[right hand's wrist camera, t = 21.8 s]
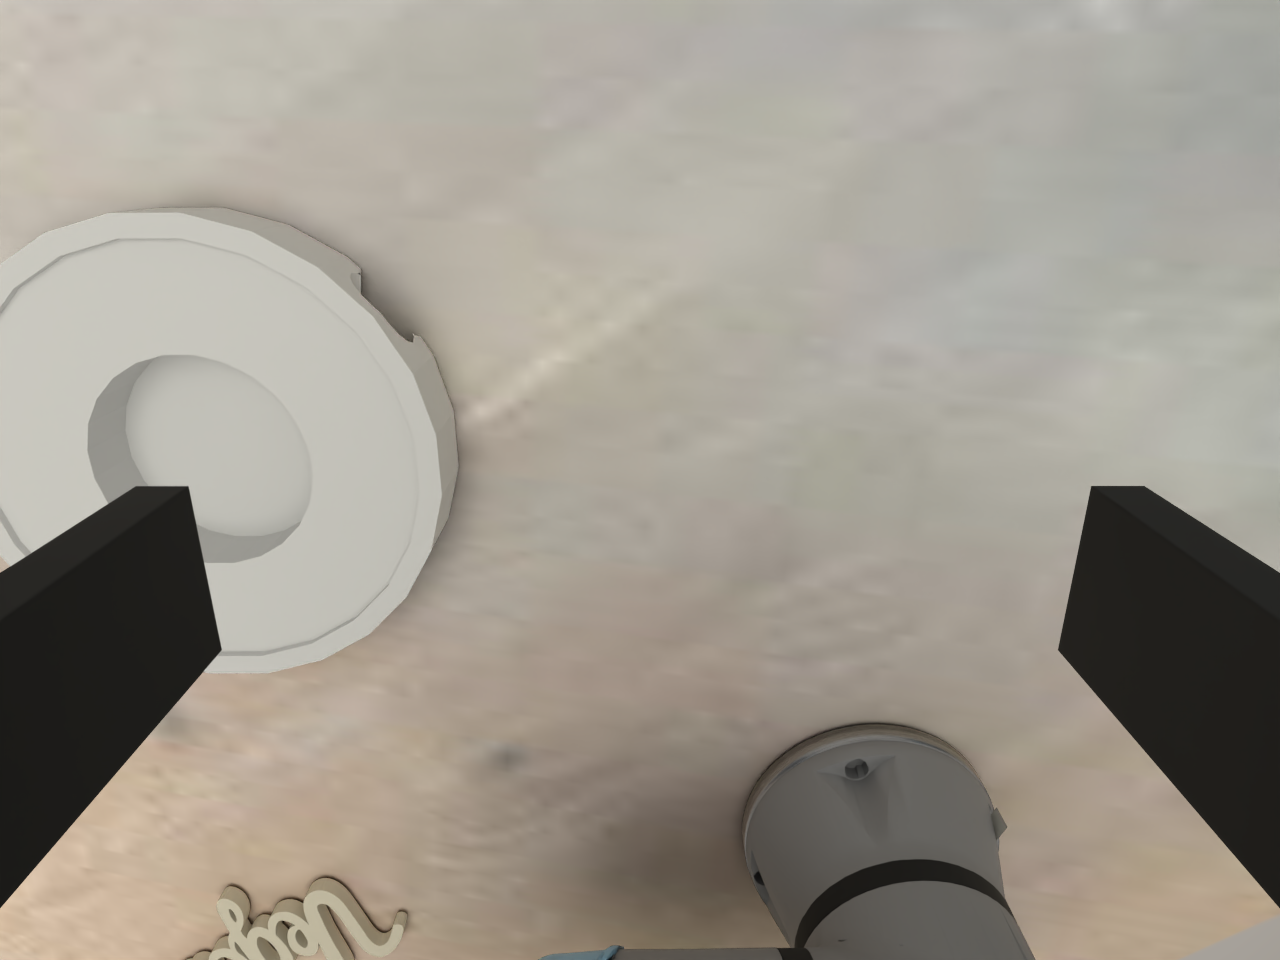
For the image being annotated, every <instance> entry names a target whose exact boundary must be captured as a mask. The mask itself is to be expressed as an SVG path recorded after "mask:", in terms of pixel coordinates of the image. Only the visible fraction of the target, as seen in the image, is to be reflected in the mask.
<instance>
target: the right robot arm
mask: <svg viewBox="0 0 1280 960" xmlns="http://www.w3.org/2000/svg"><path fill="white" fill-rule="evenodd" d="M221 650H222V648H221V643H220V638H219V633H218V628H217V623H216V619H215V614H214V609H213V604H212V599H211V594H210V589H209V584H208V579H207V574H206V569H205V564H204V560H203V555H202V550H201V545H200V540H199V535H198V530H197V525H196V520H195V515H194V510H193V506H192V501H191V496H190V491H189V486H135V487H134V488H132V489H131V490H129V491H127V492H126V493H124V494H123V495H121V496H120V497H118V498H117V499H115V500H113V501H112V502H110V503H109V504H107V505H106V506H104V507H102V508H101V509H99V510H98V511H96V512H95V513H93V514H92V515H90V516H88V517H87V518H85V519H84V520H82V521H81V522H79V523H77V524H76V525H74V526H73V527H71V528H70V529H68V530H67V531H65V532H63V533H62V534H60V535H59V536H57V537H56V538H54V539H53V540H51V541H49V542H48V543H46V544H45V545H43V546H42V547H40V548H38V549H37V550H35V551H34V552H32V553H31V554H29V555H28V556H26V557H24V558H23V559H21V560H20V561H18V562H17V563H15V564H13V565H12V566H10V567H9V568H7V569H6V570H4V571H3V572H1V573H0V908H1V907H2V905H3V904H4V903H5V902H6V901H7V900H8V898H9V897H10V896H11V895H12V894H13V893H14V891H15V890H16V889H17V888H18V887H19V886H20V884H21V883H22V882H23V881H24V880H25V879H26V877H27V876H28V875H29V874H30V873H31V872H32V871H33V869H34V868H35V867H36V866H37V865H38V864H39V862H40V861H41V860H42V859H43V858H44V857H45V855H46V854H47V853H48V852H49V851H50V850H51V848H52V847H53V846H54V845H55V844H56V843H57V841H58V840H59V839H60V838H61V837H62V836H63V834H64V833H65V832H66V831H67V830H68V829H69V827H70V826H71V825H72V824H73V823H74V822H75V820H76V819H77V818H78V817H79V816H80V815H81V813H82V812H83V811H84V810H85V809H86V808H87V806H88V805H89V804H90V803H91V802H92V801H93V799H94V798H95V797H96V796H97V795H98V794H99V793H100V791H101V790H102V789H103V788H104V787H105V786H106V784H107V783H108V782H109V781H110V780H111V779H112V777H113V776H114V775H115V774H116V773H117V772H118V770H119V769H120V768H121V767H122V766H123V765H124V763H125V762H126V761H127V760H128V759H129V758H130V756H131V755H132V754H133V753H134V752H135V751H136V749H137V748H138V747H139V746H140V745H141V744H142V742H143V741H144V740H145V739H146V738H147V737H148V735H149V734H150V733H151V732H152V731H153V730H154V728H155V727H156V726H157V725H158V724H159V723H160V721H161V720H162V719H163V718H164V717H165V716H166V715H167V713H168V712H169V711H170V710H171V709H172V708H173V706H174V705H175V704H176V703H177V702H178V701H179V699H180V698H181V697H182V696H183V695H184V694H185V692H186V691H187V690H188V689H189V688H190V687H191V685H192V684H193V683H194V682H195V681H196V680H197V678H198V677H199V676H200V675H201V674H202V673H203V671H204V670H205V669H206V668H207V667H208V666H209V664H210V663H211V662H212V661H213V660H214V659H215V657H216V656H217V655H218V654H219V653H220V652H221ZM1058 650H1059V652H1060V653H1061V654H1062V655H1063V656H1064V657H1065V659H1066V660H1067V661H1068V662H1069V663H1070V664H1071V666H1072V667H1073V668H1074V669H1075V670H1076V671H1077V673H1078V674H1079V675H1080V676H1081V677H1082V678H1083V680H1084V681H1085V682H1086V683H1087V684H1088V685H1089V687H1090V688H1091V689H1092V690H1093V691H1094V692H1095V694H1096V695H1097V696H1098V697H1099V698H1100V699H1101V701H1102V702H1103V703H1104V704H1105V705H1106V706H1107V708H1108V709H1109V710H1110V711H1111V712H1112V713H1113V715H1114V716H1115V717H1116V718H1117V719H1118V720H1119V721H1120V723H1121V724H1122V725H1123V726H1124V727H1125V728H1126V730H1127V731H1128V732H1129V733H1130V734H1131V735H1132V737H1133V738H1134V739H1135V740H1136V741H1137V742H1138V744H1139V745H1140V746H1141V747H1142V748H1143V749H1144V751H1145V752H1146V753H1147V754H1148V755H1149V756H1150V758H1151V759H1152V760H1153V761H1154V762H1155V763H1156V765H1157V766H1158V767H1159V768H1160V769H1161V770H1162V772H1163V773H1164V774H1165V775H1166V776H1167V777H1168V779H1169V780H1170V781H1171V782H1172V783H1173V784H1174V786H1175V787H1176V788H1177V789H1178V790H1179V791H1180V793H1181V794H1182V795H1183V796H1184V797H1185V798H1186V799H1187V801H1188V802H1189V803H1190V804H1191V805H1192V806H1193V808H1194V809H1195V810H1196V811H1197V812H1198V813H1199V815H1200V816H1201V817H1202V818H1203V819H1204V820H1205V822H1206V823H1207V824H1208V825H1209V826H1210V827H1211V829H1212V830H1213V831H1214V832H1215V833H1216V834H1217V836H1218V837H1219V838H1220V839H1221V840H1222V841H1223V843H1224V844H1225V845H1226V846H1227V847H1228V848H1229V850H1230V851H1231V852H1232V853H1233V854H1234V855H1235V857H1236V858H1237V859H1238V860H1239V861H1240V862H1241V864H1242V865H1243V866H1244V867H1245V868H1246V869H1247V871H1248V872H1249V873H1250V874H1251V875H1252V876H1253V878H1254V879H1255V880H1256V881H1257V882H1258V883H1259V884H1260V886H1261V887H1262V888H1263V889H1264V890H1265V891H1266V893H1267V894H1268V895H1269V896H1270V897H1271V898H1272V900H1273V901H1274V902H1275V903H1276V904H1277V905H1278V907H1279V908H1280V573H1279V572H1277V571H1276V570H1274V569H1273V568H1271V567H1270V566H1268V565H1267V564H1265V563H1263V562H1262V561H1260V560H1259V559H1257V558H1256V557H1254V556H1252V555H1251V554H1249V553H1248V552H1246V551H1245V550H1243V549H1242V548H1240V547H1238V546H1237V545H1235V544H1234V543H1232V542H1231V541H1229V540H1227V539H1226V538H1224V537H1223V536H1221V535H1220V534H1218V533H1217V532H1215V531H1213V530H1212V529H1210V528H1209V527H1207V526H1206V525H1204V524H1203V523H1201V522H1199V521H1198V520H1196V519H1195V518H1193V517H1192V516H1190V515H1188V514H1187V513H1185V512H1184V511H1182V510H1181V509H1179V508H1178V507H1176V506H1174V505H1173V504H1171V503H1170V502H1168V501H1167V500H1165V499H1163V498H1162V497H1160V496H1159V495H1157V494H1156V493H1154V492H1153V491H1151V490H1149V489H1148V488H1146V487H1145V486H1091V491H1090V496H1089V501H1088V506H1087V510H1086V515H1085V520H1084V525H1083V530H1082V535H1081V540H1080V545H1079V550H1078V555H1077V560H1076V564H1075V569H1074V574H1073V579H1072V584H1071V589H1070V594H1069V599H1068V604H1067V609H1066V614H1065V619H1064V623H1063V628H1062V633H1061V638H1060V643H1059V648H1058ZM1006 828H1007V826H1006V824H1005V822H1004V820H1003V818H1002V816H1001V815H1000V813H999V811H998V809H997V808H996V809H995V810H994V808H993V805H992V802H991V799H990V797H989V795H988V793H987V791H986V789H985V787H984V785H983V784H982V782H981V780H980V778H979V776H978V775H977V773H976V771H975V770H974V768H973V767H972V765H971V764H970V763H969V762H968V761H967V760H966V758H965V757H964V756H962V755H961V754H960V753H959V752H958V751H957V750H956V749H954V748H953V747H952V746H950V745H949V744H947V743H946V742H944V741H942V740H940V739H939V738H936V737H934V736H932V735H930V734H927V733H925V732H922V731H919V730H915V729H911V728H908V727H902V726H896V725H885V724H867V725H856V726H850V727H844V728H840V729H836V730H832V731H829V732H826V733H823V734H820V735H818V736H815V737H813V738H811V739H808V740H806V741H805V742H803V743H801V744H799V745H797V746H796V747H794V748H792V749H791V750H789V751H788V752H786V753H785V754H784V755H783V756H781V757H780V758H779V759H778V760H776V761H775V762H774V763H773V764H772V765H771V766H770V767H769V768H768V769H767V770H766V772H765V773H764V774H763V775H762V776H761V778H760V779H759V781H758V782H757V783H756V785H755V787H754V788H753V790H752V792H751V794H750V796H749V799H748V801H747V804H746V807H745V810H744V815H743V821H742V837H743V845H744V851H745V858H746V863H747V867H748V870H749V873H750V875H751V878H752V880H753V883H754V885H755V887H756V889H757V891H758V893H759V895H760V896H761V898H762V900H763V901H764V903H765V904H766V905H767V907H768V909H769V911H770V913H771V915H772V917H773V919H774V920H775V922H776V924H777V925H778V927H779V929H780V930H781V932H782V934H783V935H784V937H785V939H786V940H787V942H788V944H789V945H790V947H791V948H722V949H624V947H622V946H610V947H608V948H607V949H606V950H599V951H588V952H576V953H562V954H552V955H548V956H545V957H542V958H540V959H538V960H1035V958H1034V956H1033V954H1032V952H1031V950H1030V948H1029V946H1028V944H1027V942H1026V940H1025V938H1024V936H1023V934H1022V932H1021V930H1020V928H1019V926H1018V924H1017V922H1016V920H1015V918H1014V916H1013V914H1012V912H1011V910H1010V908H1009V906H1008V904H1007V902H1006V900H1005V896H1004V889H1003V882H1002V874H1001V867H1000V860H999V854H998V850H999V837H1000V835H1001V834H1002V833H1003V832H1004V830H1005V829H1006Z"/></svg>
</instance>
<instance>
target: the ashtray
mask: <svg viewBox="0 0 1280 960" xmlns="http://www.w3.org/2000/svg"><path fill="white" fill-rule="evenodd" d="M413 336H414V339H413V342H408V341H407V340H405V339H404V338H403V337H402V336H400V335H399V334H398V333H397V332H396V331H395V329H394V328H393V327H392V326H391V325H390V324H389V323H388V322H387V321H386V319H385V318H384V317H383V315H382V314H381V313H380V312H379V311H378V310H377V309H376V308H374V307H373V306H372V305H371V304H370V303H369V302H368V301H367V300H366V299H365V298H364V297H363V296H362V295H361V269H360V268H359V267H358V266H357V265H356V264H355V263H354V262H353V261H352V260H350V259H349V258H348V257H347V256H345V255H343V254H341V253H339V252H338V251H336V250H334V249H332V248H330V247H328V246H327V245H325V244H323V243H321V242H319V241H317V240H316V239H314V238H312V237H310V236H308V235H307V234H305V233H303V232H301V231H299V230H297V229H296V228H294V227H292V226H290V225H288V224H285V223H281V222H277V221H273V220H269V219H266V218H262V217H258V216H254V215H250V214H247V213H243V212H239V211H235V210H231V209H228V208H224V207H199V208H151V209H142V210H132V211H122V212H113V213H107V214H103V215H100V216H97V217H93V218H90V219H87V220H84V221H80V222H77V223H74V224H71V225H67V226H64V227H61V228H57V229H54V230H51V231H48V232H44V233H43V234H42V235H40V236H39V237H37V238H36V239H35V240H33V241H32V242H30V243H29V244H28V245H26V246H25V247H23V248H22V249H21V250H19V251H18V252H16V253H15V254H14V255H12V256H11V257H9V258H8V259H7V260H5V261H4V262H2V263H1V264H0V556H1V557H2V558H3V559H4V560H5V561H6V562H7V563H8V564H9V566H12V565H13V564H15V563H17V562H18V561H20V560H21V559H23V558H24V557H26V556H28V555H29V554H31V553H32V552H34V551H35V550H37V549H38V548H40V547H42V546H43V545H45V544H46V543H48V542H49V541H51V540H53V539H54V538H56V537H57V536H59V535H60V534H62V533H63V532H65V531H67V530H68V529H70V528H71V527H73V526H74V525H76V524H77V523H79V522H81V521H82V520H84V519H85V518H87V517H88V516H90V515H92V514H93V513H95V512H96V511H98V510H99V509H101V508H102V507H104V506H106V505H107V504H109V503H110V502H112V501H113V500H115V499H117V498H118V497H120V496H121V495H123V494H124V493H126V492H127V491H129V490H131V489H132V488H134V487H135V486H189V491H190V496H191V501H192V506H193V510H194V515H195V520H196V525H197V530H198V535H199V540H200V545H201V550H202V555H203V560H204V564H205V569H206V574H207V579H208V584H209V589H210V594H211V599H212V604H213V609H214V614H215V619H216V623H217V628H218V633H219V638H220V643H221V648H222V650H221V652H220V653H219V654H218V655H217V656H216V657H215V659H214V660H213V661H212V662H211V663H210V664H209V666H208V667H207V668H206V669H205V670H204V671H203V672H206V673H271V672H275V671H279V670H283V669H288V668H292V667H296V666H300V665H304V664H308V663H312V662H316V661H320V660H323V659H325V658H327V657H329V656H331V655H332V654H334V653H336V652H338V651H340V650H342V649H343V648H345V647H347V646H349V645H351V644H353V643H354V642H356V641H358V640H360V639H362V638H364V637H365V636H367V635H369V634H370V633H371V632H372V631H373V630H374V629H375V628H376V627H377V626H378V625H379V624H380V623H381V622H382V621H383V620H384V619H385V618H386V617H387V616H388V615H389V614H390V613H391V612H392V611H393V610H394V609H395V608H396V607H397V606H398V605H399V604H400V603H401V602H402V601H403V600H404V599H405V598H406V597H407V595H408V593H409V591H410V590H411V588H412V586H413V584H414V582H415V580H416V578H417V576H418V575H419V573H420V571H421V569H422V567H423V565H424V563H425V561H426V560H427V558H428V556H429V554H430V552H431V550H432V548H433V546H434V545H435V543H436V541H437V539H438V537H439V535H440V533H441V531H442V530H443V528H444V526H445V524H446V522H447V520H448V518H449V514H450V509H451V504H452V498H453V493H454V488H455V483H456V478H457V473H458V468H459V464H458V452H457V441H456V429H455V418H454V410H453V407H452V405H451V402H450V399H449V396H448V394H447V391H446V388H445V386H444V383H443V380H442V377H441V375H440V372H439V369H438V366H437V364H436V361H435V358H434V355H433V354H432V352H431V351H430V349H429V348H428V346H427V345H426V343H425V342H424V341H423V339H422V338H421V336H417V335H415V334H413Z"/></svg>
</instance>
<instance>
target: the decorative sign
mask: <svg viewBox="0 0 1280 960" xmlns="http://www.w3.org/2000/svg"><path fill="white" fill-rule="evenodd" d="M326 905H328V906H329V907H330V908H331V909H332V910H333V911H334V912H335V913H336V914H337V915H338V916H339V918H340V919H341V920H342V922H343V923H344V925H345V926H346V928H347V929H348V931H349V932H350V933H351V935H352V936H353V938H354V939H355V940H356V942H357V943H358V944H359V946H360V947H361V948H362V949H363V950H364V951H365V952H366V953H368V954H370V955H372V956H375V957H384V956H387V955H388V954H390V953H391V952H392V951H393V950H394V949H395V948H396V947H397V945H398V944H399V942H400V940H401V938H402V935H403V931H404V928H405V925H406V921H407V914H406V913H405V912H398V913H397V915H396V918H395V921H394V924H393V928H392V929H391V930H390V931H389V932H387V933H381V932H379V931H378V930H377V929H376V928H375V927H374V926H373V925H372V924H371V922H370V921H369V919H368V918H367V916H366V915H365V913H364V912H363V910H362V909H361V908H360V906H359V905H358V903H357V902H356V901H355V899H354V898H353V896H352V895H351V894H350V892H349V891H348V890H347V889H346V888H345V887H344V886H343V885H342V884H340V883H339V882H337V881H335V880H333V879H330V878H321V879H318V880H316V881H315V882H313V883H312V884H311V886H310V888H309V890H308V892H307V895H306V897H305V899H304V903H302V902H300V901H297V900H294V899H287V900H282V901H280V902H279V903H278V904H277V905H276V906H275V908H274V910H273V912H272V914H271V915H267V914H263V915H260V916H258V917H257V918H256V919H255V921H254V923H253V925H251V923H250V922H249V921H248V919H247V917H248V915H249V912H250V903H249V900H248V897H247V896H246V894H245V893H244V892H243V891H242V890H240V889H238V888H236V887H232V886H229V887H227V888H225V890H224V892H223V893H222V895H221V897H220V899H219V900H218V902H217V905H216V907H217V911H218V913H219V915H220V917H221V919H222V920H223V922H224V924H225V926H226V927H227V929H228V930H229V932H230V933H229V936H225V937H222V938H220V939H219V940H218V941H217V943H216V945H215V947H214V949H213V950H212V952H207V951H202V952H199V953H197V954H195V955H194V957H193V958H190V959H186V960H224V957H226V958H229V959H232V960H296V958H297V956H298V954H299V955H303V956H312V955H314V954H316V952H317V950H318V948H319V945H320V947H321V949H322V951H323V953H324V955H325V957H326V959H327V960H354V957H353V954H352V952H351V950H350V949H349V947H348V945H347V944H346V942H345V940H344V939H343V937H342V935H341V934H340V932H339V930H338V928H337V926H336V925H335V923H334V921H333V919H332V917H331V915H330V912H329V910H328V908H327V906H326ZM282 921H287V922H290V923H292V924H291V926H290V928H289V929H288V928H287V927H286V926H285V925H284V924H283V923H282ZM268 941H269V942H270V943H271V944H272V945H273V946H274V947H275V949H276V950H277V951H278V952H277V951H276V950H275V949H273V948H272V946H271V945H270V944H269V943H268Z"/></svg>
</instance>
